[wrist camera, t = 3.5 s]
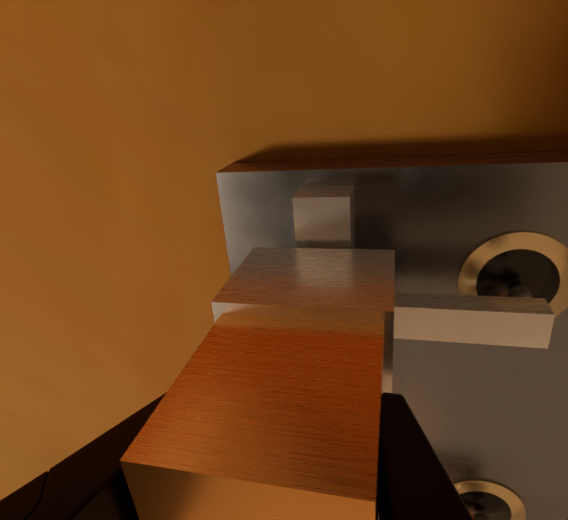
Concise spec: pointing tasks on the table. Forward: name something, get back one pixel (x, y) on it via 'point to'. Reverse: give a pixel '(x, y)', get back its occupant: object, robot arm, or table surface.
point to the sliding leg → (300, 387)
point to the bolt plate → (445, 280)
